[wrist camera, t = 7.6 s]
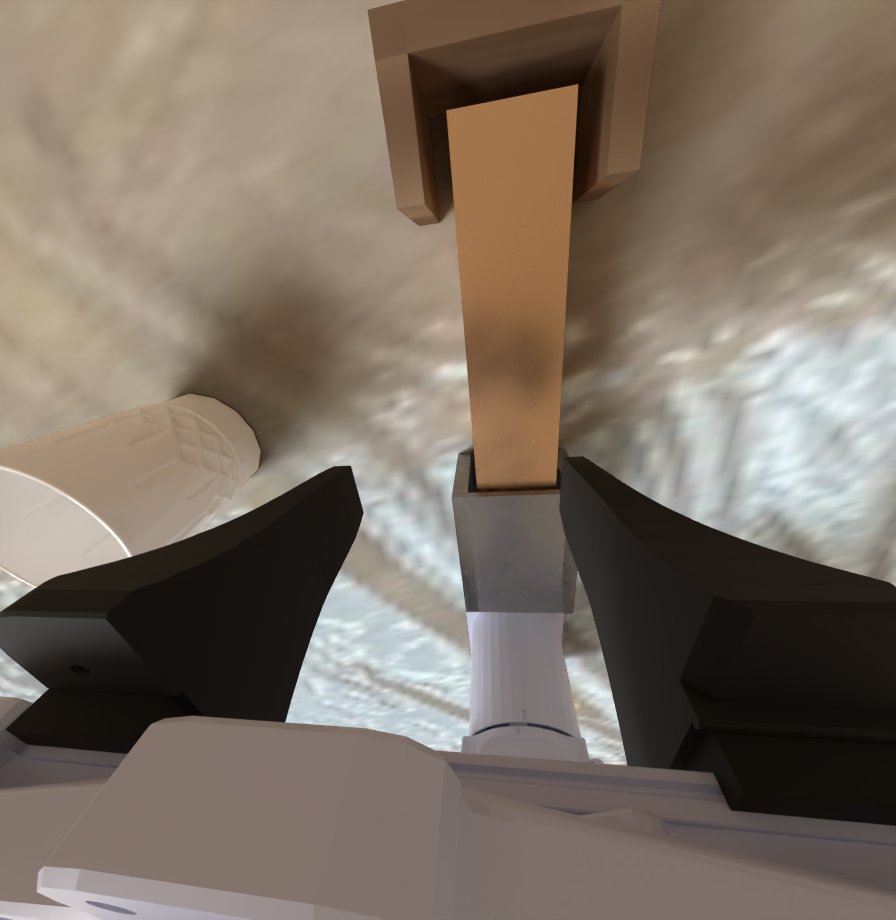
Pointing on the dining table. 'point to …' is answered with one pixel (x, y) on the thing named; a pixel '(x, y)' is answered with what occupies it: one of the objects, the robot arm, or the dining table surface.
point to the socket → (513, 78)
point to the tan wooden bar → (514, 277)
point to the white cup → (119, 485)
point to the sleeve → (512, 547)
